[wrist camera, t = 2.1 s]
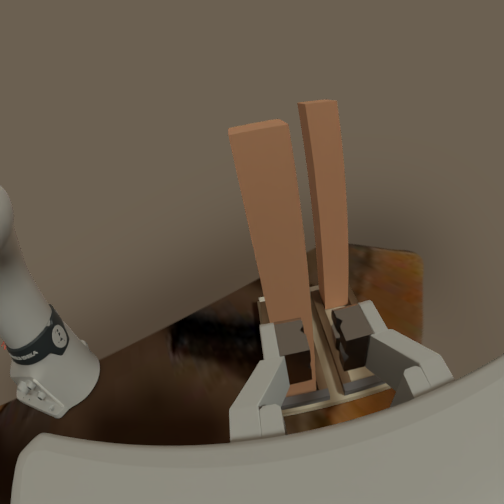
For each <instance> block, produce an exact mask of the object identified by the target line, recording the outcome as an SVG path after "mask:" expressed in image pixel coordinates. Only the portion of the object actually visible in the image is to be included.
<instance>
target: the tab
mask: <svg viewBox="0 0 504 504" xmlns="http://www.w3.org/2000/svg"><path fill="white" fill-rule="evenodd" d="M228 130H229V131H228V135H229V140H230V144H231V149H232V153H233V158H234V162H235V167H236V171H237V176H238V180H239V185H240V189H241V194H242V198H243V203H244V207H245V212H246V217H247V221H248V226H249V230H250V235H251V239H252V243H253V248H254V253H255V257H256V262H257V266H258V271H259V275H260V280H261V285H262V289H263V294H264V298H265V303H266V308H267V312H268V317H269V321H270V323H274V322H278V321H283V320H289V319H294V318H300V317H301V319H302V323H303V328H304V334H306V337H307V340H308V344H309V348H310V354H311V363H310V365H311V369H312V380H308V381H304V382H300V383H296V384H291V385H290V387H289V390H288V392H287V394H286V397H290V396H295V395H300V394H305V393H309V392H314V391H316V373H315V355H314V339H313V325H312V311H311V299H310V288H309V277H308V267H307V257H306V248H305V239H304V231H303V222H302V214H301V206H300V198H299V191H298V184H297V177H296V169H295V163H294V157H293V150H292V143H291V137H290V131H289V125H288V124H287V123H285V122H283V121H282V120H280V119H275V120H268V121H262V122H257V123H252V124H247V125H241V126H236V127H232V128H229V129H228ZM274 328H275V327H274Z"/></svg>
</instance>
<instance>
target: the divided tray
mask: <svg viewBox="0 0 504 504" xmlns="http://www.w3.org/2000/svg"><path fill="white" fill-rule="evenodd" d="M309 288H310V299H311V311H312V325H313V339H314V355H315V373H316V391H314V392H309V393H305V394H300V395H295V396H290V397H285V399H284V401H283V403H282V406H281V411H282V414H283V416H288V415H293V414H298V413H303V412H308V411H312V410H317V409H321V408H325V407H329V406H333V405H337V404H341V403H344V402H348V401H351V400H355V399H358V398H362V397H365V396H368V395H371V394H375V393H378V392H381V391H384V390H387V389H389V388H391V387H390V386H389V385H388V384H386V383H385V382H384V381H382V380H381V379H380V378H378V377H377V376H376V375H375V374H373V373H372V372H371V371H369V370H368V369H367V368H366V367H365V366H364V367H361V368H357V369H353V370H349V371H345V372H344V371H343V368H342V365H341V362H340V360H339V351H338V350H336V348H335V345H334V342H333V338H332V331H331V326H332V324H333V321H332V318H331V312H332V310H334V309H338V308H342V307H345V306H349V305H353V304H357V303H358V301H357V299H356V297H355V295H354V293H353V291H352V289H351V288H350V286H349V284H348V304H347V305H343V306H338V307H334V308H330V309H326V310H325V308H324V305H323V303H322V300H321V298H320V295H319V285H317V286H313V287H309ZM259 300H260V301H257V303H258V310H259V317H260V324H261V325H262V324H268V323H270V321H269V317H268V312H267V308H266V303H265V298H264V297H260V298H259Z"/></svg>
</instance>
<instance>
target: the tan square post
mask: <svg viewBox="0 0 504 504" xmlns="http://www.w3.org/2000/svg"><path fill="white" fill-rule="evenodd" d="M297 104H298V109H299V115H300V121H301V128H302V135H303V141H304V148H305V155H306V163H307V170H308V177H309V186H310V195H311V203H312V212H313V222H314V233H315V242H316V255H317V268H318V282H319V295H320V298H321V300H322V303H323V305H324V308H325V310H326V309H330V308H334V307H338V306H343V305H347V304H348V224H347V201H346V185H345V171H344V159H343V150H342V149H343V148H342V139H341V130H340V122H339V114H338V106H337V101H334V100H317V101H308V102H300V103H297Z"/></svg>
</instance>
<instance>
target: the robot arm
mask: <svg viewBox="0 0 504 504" xmlns="http://www.w3.org/2000/svg"><path fill="white" fill-rule="evenodd" d="M13 222H14V214H13V207H12V203H11V200H10V198H9V196H8V194H7V192H6V191H5V190H4V189H3V187H2V186H0V337H1V338H2V340H3V343H2V345H1V346H3V345H4V343H5V346H4V350H5V349H6V348H7V350H8V352H9V354H10V356H11V357H12V362H11V367H10V376H11V378H12V380H13V381H14V382H15V383H16V384H17V385H18V387H17V398H18V400H19V401H21V402H22V403H24V404H26V405H28V406H31V407H33V408H35V409H37V410H39V411H41V412H43V413H46V414H48V415H50V416H53V417H55V418H61V417H62V416H63V415H64V414H65V413H66V412H67V411H68V410H69V409H70V408H71V407H73V406H74V405H76V404H78V403H79V402H81V401H82V400H83V399H85V398H86V397H87V396H88V395H89V393H90V392H91V391H92V389H93V388H94V386H95V384H96V382H97V380H98V377H99V372H100V364H99V361H98V358H97V357H96V356H95V355H94V354H93V353H92V352H91V351H90V350H89V348H88V345H87V343H86V342H85V341H84V340H80V339H79V338H78V337H77V336H76V335H75V334H74V332H72V330H71V329H70V328H69V327H68V326H67V324H66V323H65V322H63V321H62V319H61V318H60V317H59V315H58V312H57V311H56V310H55V309H54V308H53V306H52V305H50V304H48V303H47V301H46V299H45V298H44V296H43V295H42V293H41V291H40V290H39V288H38V286H37V285H36V283H35V281H34V279H33V278H32V276H31V274H30V272H29V270H28V268H27V266H26V263H25V261H24V258H23V255H22V252H21V248H20V245H19V242H18V238H17V235H16V232H15V229H14V226H13ZM331 318H332V321H333V324H332V326H331V331H332V338H333V342H334V345H335V348H336V350H338V351H339V360H340V362H341V365H342V368H343V371H344V372H345V371H349V370H353V369H357V368H361V367H364V366H365V367H366V368H367V369H368V370H369V371H371V372H372V373H373V374H375V375H376V376H377V377H378V378H380V379H381V380H382V381H384V382H385V383H386V384H388V385H389V386H390V387H391V388H393V389H394V390H395V391H396V394H395V396H394V399H393V401H392V403H391V406H390V408H388V409H385V410H382V411H379V412H376V413H373V414H370V415H366V416H363V417H360V418H356V419H353V420H350V421H346V422H342V423H339V424H335V425H331V426H327V427H323V428H318V429H314V430H309V431H305V432H300V433H295V434H290V435H288V434H287V430H286V426H285V422H284V418H283V414H282V411H281V406H282V403H283V401H284V399H285V397H286V394H287V392H288V390H289V387H290V385H291V384H296V383H300V382H304V381H308V380H312V369H311V365H310V363H311V354H310V348H309V344H308V340H307V337H306V334H304V328H303V323H302V319H301V317H300V318H294V319H289V320H283V321H278V322H274V323H268V324H262V325H260V336H261V343H262V351H263V358H264V360H261V361H259V363H258V364H257V366H256V368H255V369H254V371H253V373H252V374H251V376H250V377H249V379H248V381H247V382H246V384H245V386H244V387H243V389H242V390H241V392H240V394H239V395H238V397H237V398H236V400H235V401H234V403H233V405H232V406H231V408H230V409H229V419H230V443H222V444H208V445H182V446H158V445H133V444H119V443H108V442H99V441H91V440H83V439H77V438H71V437H65V436H59V435H54V434H50V433H41V434H39V435H37V436H36V437H35V438H34V439H33V440H32V441H31V442H30V443H29V444H28V445H27V446H26V447H25V448H24V449H23V450H22V451H21V453H20V454H19V457H18V459H17V463H16V467H15V473H14V479H13V485H12V494H11V504H504V354H502V355H501V356H499V357H497V358H496V359H494V360H492V361H491V362H489V363H487V364H485V365H484V366H482V367H480V368H478V369H476V370H474V371H473V372H471V373H469V374H467V375H465V376H463V377H461V378H459V379H457V380H455V379H454V378H453V376H452V374H451V372H450V371H449V369H448V367H447V365H446V364H445V362H444V360H443V358H442V357H441V355H440V354H438V353H436V352H434V351H432V350H430V349H428V348H426V347H424V346H423V345H421V344H419V343H417V342H415V341H413V340H411V339H410V338H408V337H406V336H404V335H402V334H400V333H398V332H396V331H395V330H393V329H389V330H388V329H387V327H386V325H385V324H384V322H383V320H382V318H381V317H380V315H379V313H378V311H377V310H376V308H375V306H374V304H373V303H372V301H370V300H368V301H364V302H361V303H357V304H353V305H349V306H345V307H342V308H338V309H334V310H332V312H331ZM274 327H275V328H274Z"/></svg>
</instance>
